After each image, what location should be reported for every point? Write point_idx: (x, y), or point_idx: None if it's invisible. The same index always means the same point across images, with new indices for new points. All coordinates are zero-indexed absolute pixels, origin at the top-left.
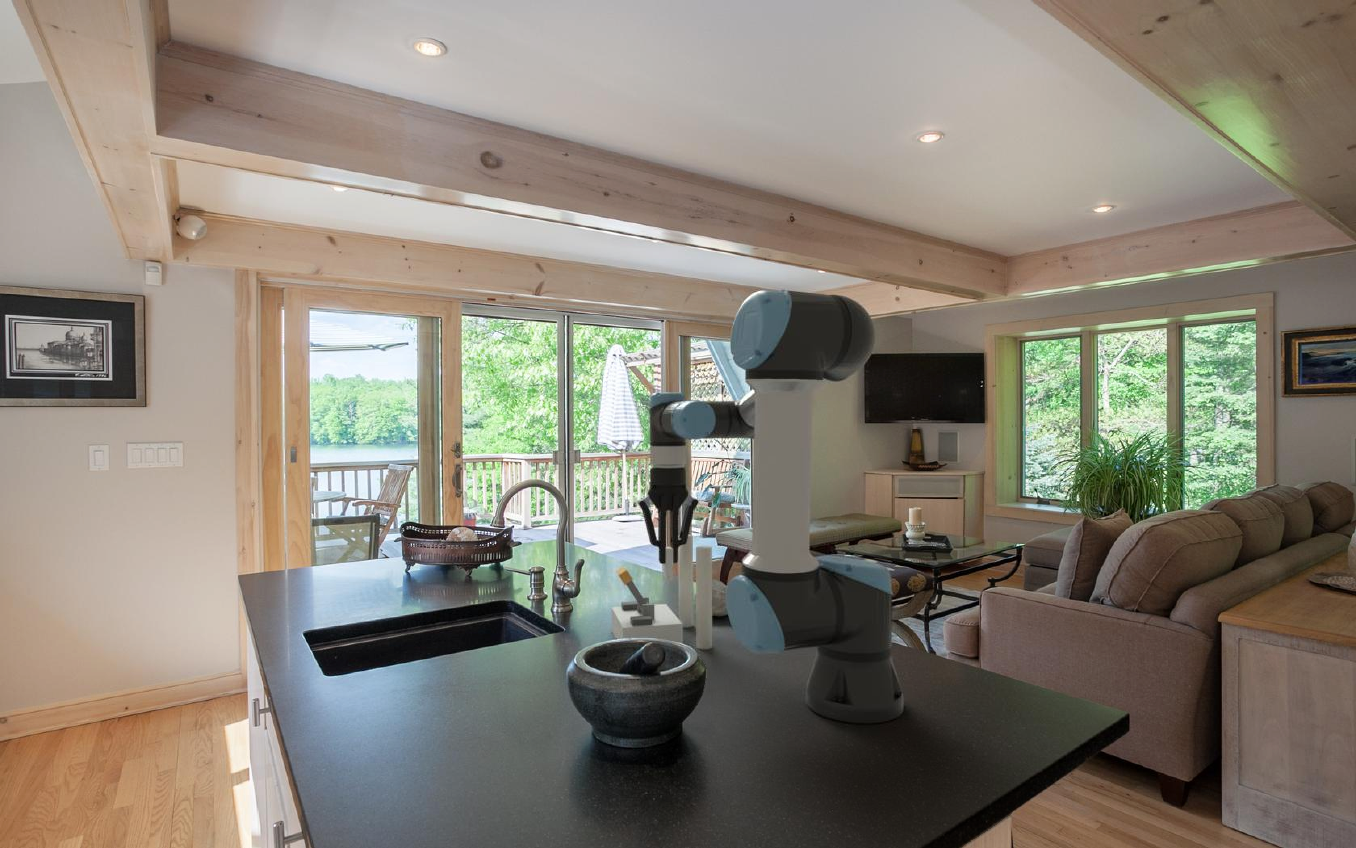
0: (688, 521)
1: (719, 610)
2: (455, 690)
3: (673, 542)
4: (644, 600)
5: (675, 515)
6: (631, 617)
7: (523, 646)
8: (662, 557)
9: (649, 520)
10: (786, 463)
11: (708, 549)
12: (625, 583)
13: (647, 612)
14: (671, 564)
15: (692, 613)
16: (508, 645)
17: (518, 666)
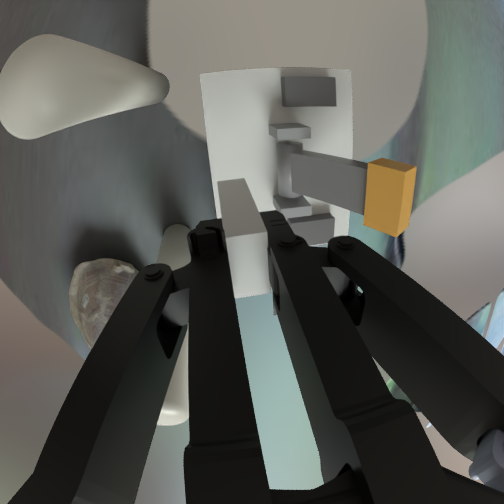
0: (92, 389)
1: (104, 263)
2: (500, 32)
3: (223, 264)
4: (304, 155)
5: (223, 441)
6: (334, 98)
7: (455, 159)
8: (275, 223)
9: (458, 339)
10: None
11: (18, 50)
12: (383, 159)
13: (291, 125)
14: (228, 202)
15: (161, 244)
16: (467, 169)
17: (464, 74)
